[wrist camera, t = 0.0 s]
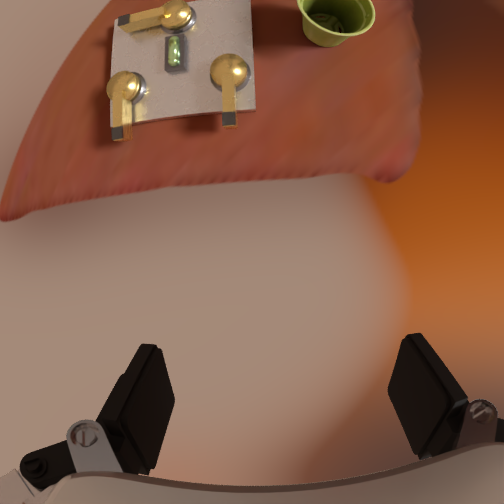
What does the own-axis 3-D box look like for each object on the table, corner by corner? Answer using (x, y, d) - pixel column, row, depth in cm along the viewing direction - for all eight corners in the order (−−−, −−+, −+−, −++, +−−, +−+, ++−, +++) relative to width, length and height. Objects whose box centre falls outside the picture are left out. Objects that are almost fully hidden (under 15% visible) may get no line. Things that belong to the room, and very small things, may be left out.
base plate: (120, 23, 31) (108, 14, 27) (250, 2, 30) (249, -12, 26) (116, 128, 36) (102, 126, 32) (255, 111, 36) (255, 106, 31)
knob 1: (113, 77, 32) (102, 72, 28) (141, 71, 31) (132, 64, 28) (114, 143, 35) (102, 142, 31) (142, 138, 34) (132, 137, 31)
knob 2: (212, 59, 31) (207, 51, 28) (246, 57, 31) (245, 48, 28) (214, 130, 34) (209, 127, 31) (249, 127, 34) (248, 125, 31)
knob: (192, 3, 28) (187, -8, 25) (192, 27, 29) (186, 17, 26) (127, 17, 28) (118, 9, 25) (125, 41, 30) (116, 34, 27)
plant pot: (298, 60, 33) (308, 37, 25) (283, 7, 30) (288, -23, 22) (362, 56, 32) (384, 36, 24) (344, 4, 29) (361, -23, 21)
